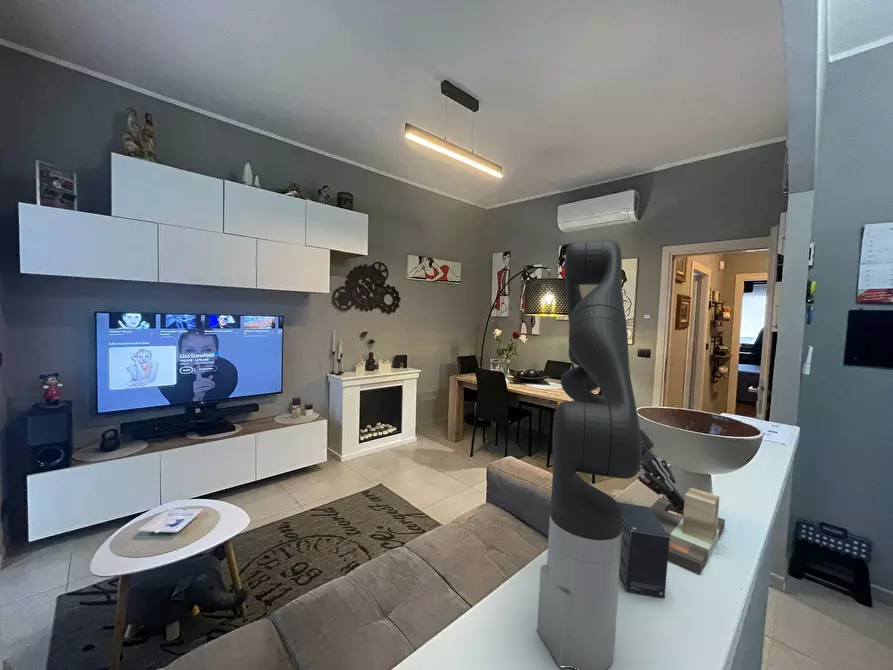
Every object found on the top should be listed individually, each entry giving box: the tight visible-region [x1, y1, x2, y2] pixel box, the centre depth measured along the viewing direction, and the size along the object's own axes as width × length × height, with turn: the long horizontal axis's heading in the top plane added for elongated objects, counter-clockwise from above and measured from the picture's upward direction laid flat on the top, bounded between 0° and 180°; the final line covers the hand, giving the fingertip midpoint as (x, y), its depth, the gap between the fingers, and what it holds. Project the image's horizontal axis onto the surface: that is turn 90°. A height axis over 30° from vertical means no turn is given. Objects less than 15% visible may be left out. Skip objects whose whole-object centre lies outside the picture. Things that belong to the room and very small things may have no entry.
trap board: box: [649, 497, 726, 576], centre depth 79 cm, size 23×13×2 cm, turn 134°
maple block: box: [682, 487, 721, 544], centre depth 76 cm, size 5×5×8 cm
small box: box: [617, 501, 670, 599], centre depth 65 cm, size 11×6×10 cm, turn 168°
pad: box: [670, 519, 720, 559], centre depth 76 cm, size 10×6×2 cm, turn 134°
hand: (683, 508), depth 78 cm, fingers closed
